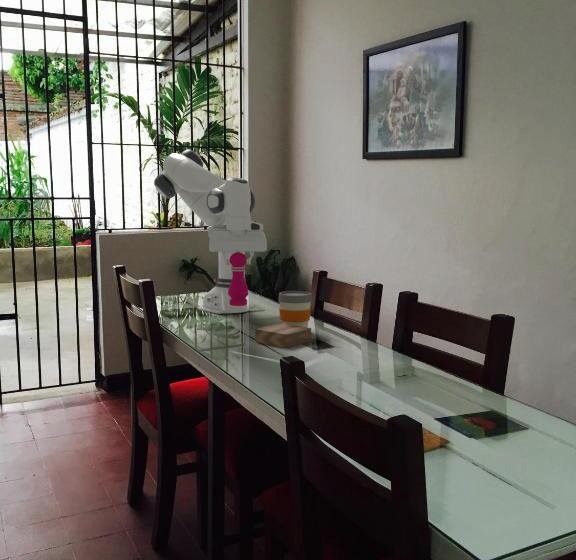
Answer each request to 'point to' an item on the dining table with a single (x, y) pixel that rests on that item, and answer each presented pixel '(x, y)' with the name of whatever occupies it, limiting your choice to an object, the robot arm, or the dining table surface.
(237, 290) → the pepper mill
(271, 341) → the walnut block
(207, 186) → the robot arm
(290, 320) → the reusable coffee cup
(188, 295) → the dining table surface
